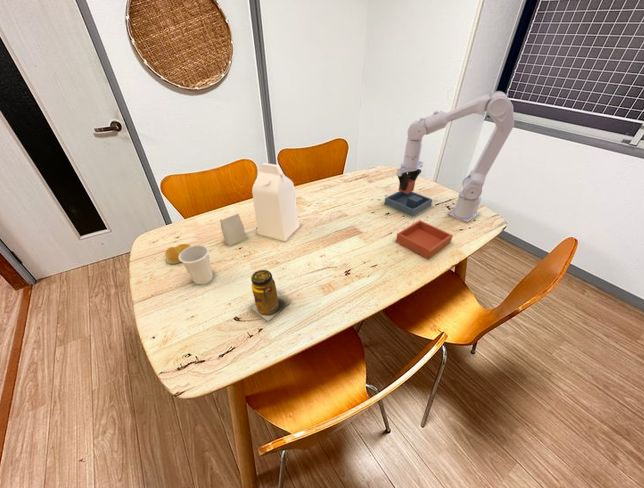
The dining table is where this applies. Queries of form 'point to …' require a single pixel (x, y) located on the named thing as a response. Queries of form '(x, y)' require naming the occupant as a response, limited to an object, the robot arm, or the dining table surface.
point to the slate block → (414, 201)
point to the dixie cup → (197, 263)
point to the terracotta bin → (424, 239)
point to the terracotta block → (408, 186)
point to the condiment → (266, 295)
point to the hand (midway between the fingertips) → (406, 187)
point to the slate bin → (400, 201)
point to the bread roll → (175, 253)
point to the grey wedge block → (233, 229)
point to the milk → (275, 203)
